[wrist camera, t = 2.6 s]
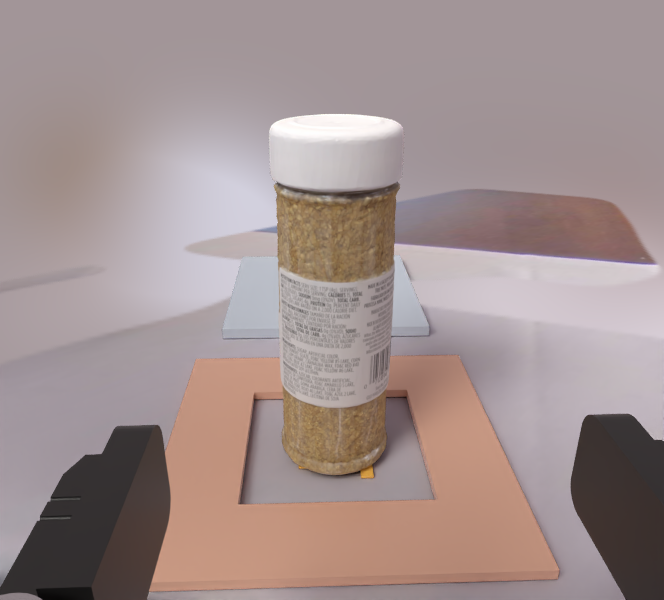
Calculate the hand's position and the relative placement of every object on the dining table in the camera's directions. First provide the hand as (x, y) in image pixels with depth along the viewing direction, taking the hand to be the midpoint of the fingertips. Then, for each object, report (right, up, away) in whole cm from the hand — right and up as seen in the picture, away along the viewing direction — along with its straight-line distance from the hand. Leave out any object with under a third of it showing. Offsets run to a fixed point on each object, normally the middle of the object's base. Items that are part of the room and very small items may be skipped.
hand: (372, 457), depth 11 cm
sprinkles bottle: (-1, -3, +14) cm, 15 cm away
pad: (-1, +3, +29) cm, 29 cm away
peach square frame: (-1, -3, +14) cm, 15 cm away
